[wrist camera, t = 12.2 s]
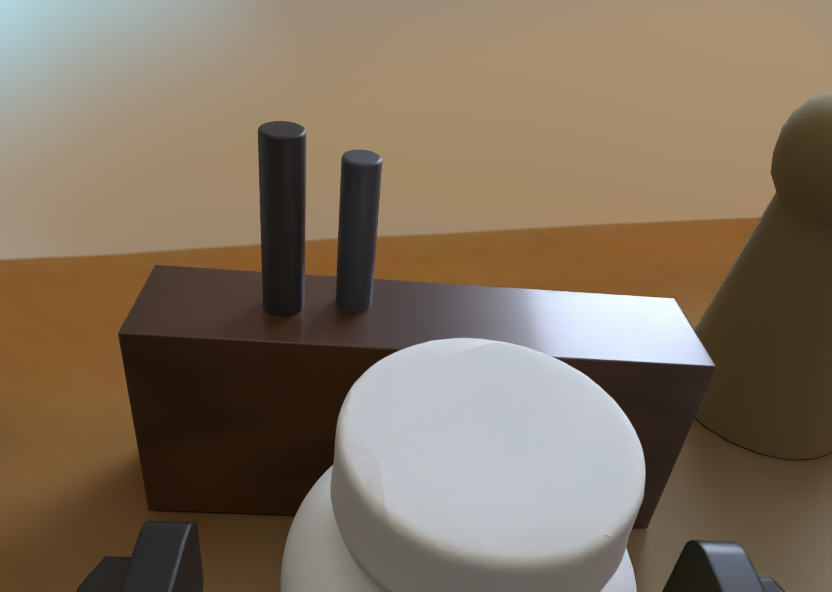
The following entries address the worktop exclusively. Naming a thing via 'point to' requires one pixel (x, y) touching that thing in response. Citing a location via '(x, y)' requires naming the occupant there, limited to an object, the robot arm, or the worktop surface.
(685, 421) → the walnut pen block
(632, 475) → the supplement bottle
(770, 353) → the olive pawn figure
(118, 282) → the worktop surface
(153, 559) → the robot arm
